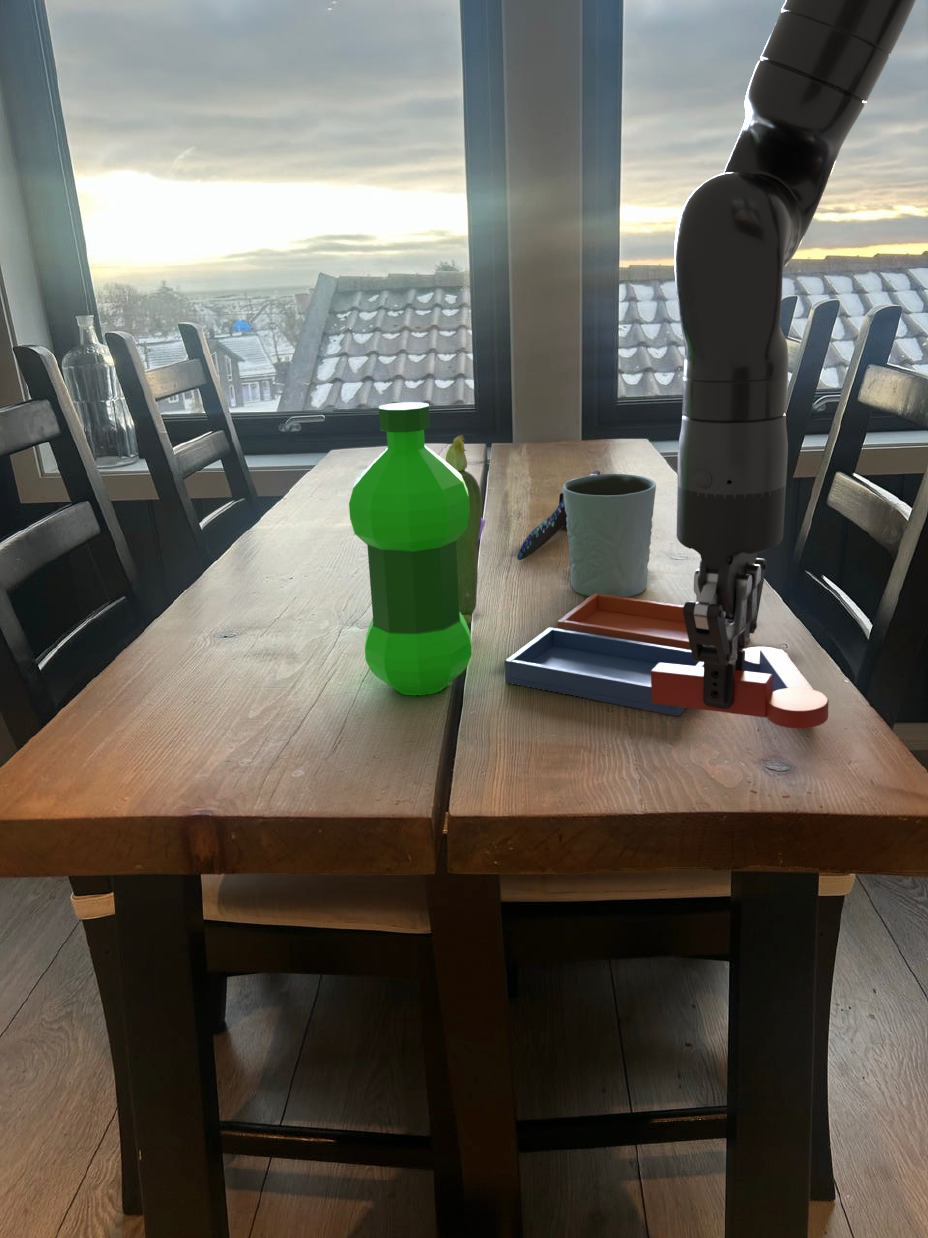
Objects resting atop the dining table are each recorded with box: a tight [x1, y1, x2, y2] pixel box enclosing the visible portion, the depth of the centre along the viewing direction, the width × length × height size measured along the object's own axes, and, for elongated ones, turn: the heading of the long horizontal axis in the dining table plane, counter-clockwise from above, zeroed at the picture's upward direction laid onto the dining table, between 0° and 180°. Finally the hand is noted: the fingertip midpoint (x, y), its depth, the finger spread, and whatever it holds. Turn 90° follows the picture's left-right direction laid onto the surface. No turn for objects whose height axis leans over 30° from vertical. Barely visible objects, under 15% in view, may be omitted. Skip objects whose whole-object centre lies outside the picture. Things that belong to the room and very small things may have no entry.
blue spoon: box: [742, 646, 815, 691], centre depth 86 cm, size 13×4×3 cm, turn 0°
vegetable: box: [445, 434, 483, 625], centre depth 101 cm, size 4×4×20 cm
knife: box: [516, 470, 601, 561], centre depth 136 cm, size 31×3×4 cm, turn 151°
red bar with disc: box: [651, 663, 830, 729], centre depth 76 cm, size 13×4×3 cm, turn 60°
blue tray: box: [504, 627, 704, 717], centre depth 90 cm, size 16×9×2 cm, turn 60°
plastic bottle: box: [348, 401, 472, 697], centre depth 87 cm, size 10×10×25 cm
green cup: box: [562, 473, 657, 598], centre depth 112 cm, size 10×10×12 cm
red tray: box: [557, 593, 713, 650], centre depth 99 cm, size 16×9×2 cm, turn 60°
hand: (723, 698), depth 77 cm, fingers closed on red bar with disc, 2 cm apart
